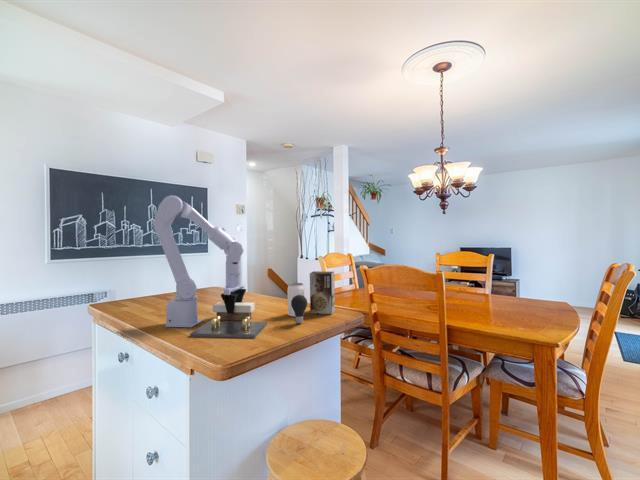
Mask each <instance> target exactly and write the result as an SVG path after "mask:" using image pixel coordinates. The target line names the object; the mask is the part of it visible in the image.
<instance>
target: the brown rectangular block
mask: <svg viewBox="0 0 640 480" xmlns="http://www.w3.org/2000/svg"><path fill="white" fill-rule="evenodd" d="M216 316H220V321H242V319H245V317H250V320H251V319H252V312H251V313H245V312H234V313H233V314H227V312H216Z"/></svg>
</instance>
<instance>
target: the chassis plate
mask: <svg viewBox="0 0 640 480" xmlns="http://www.w3.org/2000/svg"><path fill="white" fill-rule="evenodd" d="M267 325H268V323H267V321H251V319H250V317H245V319H242V320H220V316H217V315H216V316H215V318H211V320H210V321H207V322H206V323H205V324H203V325H202V326H201V325H200V327H198V328H196V329H195V330H194V331H192V332H190V333H189V337H190V338H222V339H223V338H227V339H228V338H231V339H232V338H233V339H234V338H237V339H256V338H257V337H258V335H260V333H261V332H262V331H263V330H264V329H265V327H266V326H267Z"/></svg>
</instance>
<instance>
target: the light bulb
mask: <svg viewBox="0 0 640 480" xmlns="http://www.w3.org/2000/svg"><path fill="white" fill-rule="evenodd" d="M291 306H292V308H293V310H294V312H295V316H296V317H295V322H296V323H297V324H298V325H301V324H302V323H303V322H304V315H305V311H306V309H307V307H308V300H307V298H306V297H305V295H304V296H303V295H296V296H295V297H293V299H292V301H291Z"/></svg>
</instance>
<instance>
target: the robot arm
mask: <svg viewBox="0 0 640 480" xmlns="http://www.w3.org/2000/svg"><path fill="white" fill-rule="evenodd" d="M157 208H158V209H157V212H156V215H155V218H154V220H153V221H154V222H153V226H154V229H155V233H156V235H157V237H158V239H159V243H160V245H161V247H162V250H163V253H164V255H165V257H166V258H165V259H166V260H167V263H168V265H169V267H170V269H171V272H172V276H173V278H174V282H175V283H176V286H175V287H176V288H175V289H176V291H175V292H176V296H175V297H174V298H170V299H169V300H168V301H167V304H166V309H165V310H166V311H165V312H166V315H165V316H166V317H165V318H166V321H165V322H166V325H164V327H165V328H193V327H195V326H196V325H198V324H200V323H201V322H202V323H203V319H198V316H199V314H198V309H199V308H198V295H196V294H197V291H198V288H197V285H196V283H195V281H194V280H193V279H192V278H191V277H190V276H189V273H188V270H187V267H186V265H185V262H184V260H183V258H182V254H181V252H180V250H179V247H178V244H177V241H176V240H175V237H174V234H173V231H172V230H171V229H172V228H171V226H172V224H173V222H174V221H175V219H176V218H177V217H178V216H179V215H180V218H184V219H189V220H191V221H192V222H193V223H194V224H195V225H197V226H198V227H199V228H201V229H202V230H203V231H204V232H205V233H207V239H208V240H209V241H210V242H212V243H213V244H214V245H215V246H216V247H218V248H219V249H220V250H222V251H224V254H225V258H226V259H225V260H226V261H225V286H224V287H225V288H224V289H223V293H221V294H220V297H221V299H222V300H223V301H222V302H224V303H225V307H226V311H227V314H233V313H234V308H235V302H236V303H243V299H244V296H245V293H246V292H247V289H246V285H244V283H243V268H242V267H243V261H242V255H243V253H244V248H243V246H242V244H241V243H239V242H238V241H235V240H236V238H235V237H233V236H231V235H229V233H227V232H226V229H225V228H224V227H222V228H221V226H214V225H213V224H211V223H210V222H209V221H208V220H207V219H206V218H205V217H204V216H203V215H202V214H201V213H199V211H198V210H196V209H195V208H194V207H193V206H192V205H190V204H189V203H187V202H186V201H183V200H182V199H181V198H180V197H179V196H177V195H172V194H171V195H167V196H165V197H164V198H163V200H162V201H161V202H160V203H159V205H158V207H157Z"/></svg>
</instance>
